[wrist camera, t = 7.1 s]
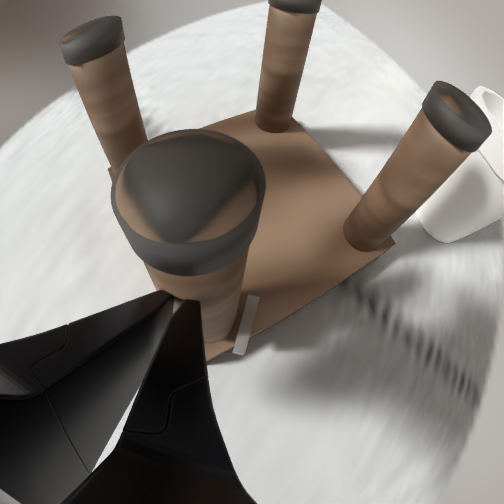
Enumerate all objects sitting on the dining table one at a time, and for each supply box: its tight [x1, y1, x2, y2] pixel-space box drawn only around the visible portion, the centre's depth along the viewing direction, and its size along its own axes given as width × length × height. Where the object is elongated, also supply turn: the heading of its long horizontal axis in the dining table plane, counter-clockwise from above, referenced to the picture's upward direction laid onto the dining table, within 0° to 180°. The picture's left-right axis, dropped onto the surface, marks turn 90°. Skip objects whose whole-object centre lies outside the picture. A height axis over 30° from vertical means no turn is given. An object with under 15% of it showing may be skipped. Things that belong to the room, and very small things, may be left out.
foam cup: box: [416, 86, 504, 243], centre depth 18 cm, size 10×9×13 cm
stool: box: [59, 0, 492, 363], centre depth 15 cm, size 17×17×15 cm
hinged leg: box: [111, 129, 266, 344], centre depth 11 cm, size 3×3×11 cm
